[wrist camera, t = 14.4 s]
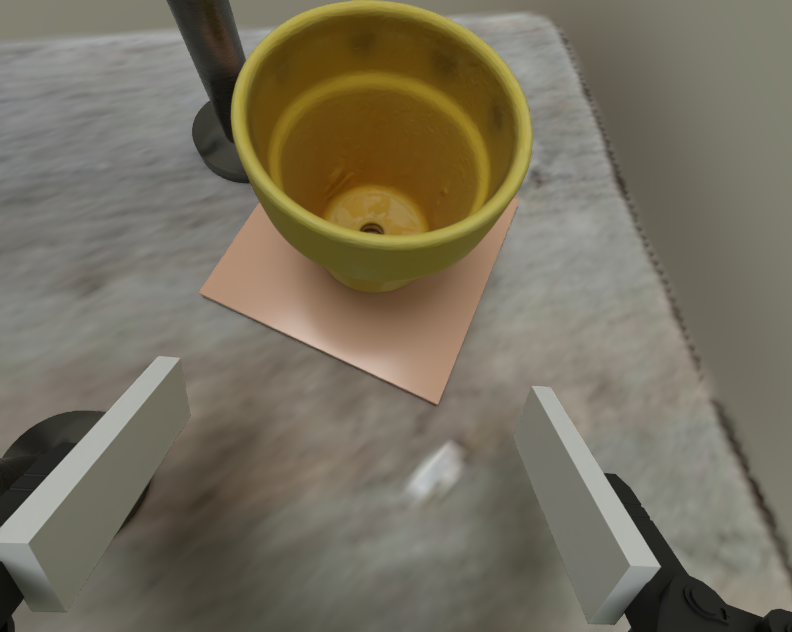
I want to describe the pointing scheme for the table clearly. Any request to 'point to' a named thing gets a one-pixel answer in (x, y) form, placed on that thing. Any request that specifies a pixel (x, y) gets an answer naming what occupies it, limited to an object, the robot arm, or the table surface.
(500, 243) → the terracotta tile
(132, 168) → the table surface
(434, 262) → the plant pot
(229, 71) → the iron post
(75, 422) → the iron post
